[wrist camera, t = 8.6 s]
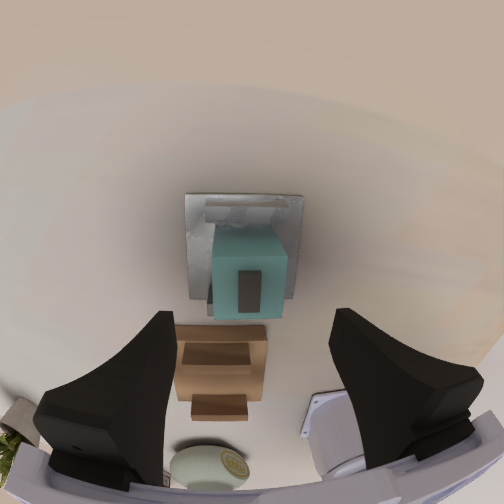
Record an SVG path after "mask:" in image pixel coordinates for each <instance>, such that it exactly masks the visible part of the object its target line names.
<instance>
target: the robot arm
mask: <svg viewBox="0 0 504 504" xmlns="http://www.w3.org/2000/svg"><path fill="white" fill-rule="evenodd" d="M328 344H329V348H330V351H331V355H332V358H333V361H334V364H335V366H336V368H337V371H338V373H339V375H340V377H341V380H342V382H343V384H344V386H345V389H346V390H344V391H337V392H331V393H323V394H316V395H314V396H313V397H312V399H311V403H310V406H309V409H308V412H307V415H306V418H305V421H304V424H303V427H302V430H301V433H300V437H301V438H306V437H308V440H309V444H310V448H311V452H312V456H313V459H314V463H315V467H316V470H317V473H318V474H319V475H320V476H321V477H322V481H320V482H314V483H309V484H302V485H295V486H288V487H279V488H269V489H256V490H231V491H214V490H190V489H177V488H167V487H163V446H164V429H165V416H166V410H167V404H168V400H169V395H170V390H171V386H172V382H173V377H174V373H175V368H176V360H177V350H178V345H177V339H176V331H175V324H174V316H173V311H158V312H157V313H156V315H155V316H154V317H153V318H152V319H151V320H150V321H149V322H148V324H147V325H146V326H145V327H144V328H143V329H142V330H141V331H140V332H139V333H138V334H137V335H136V336H135V337H134V338H133V339H132V340H131V341H130V342H129V343H128V344H127V345H126V346H125V347H124V348H123V349H122V350H121V351H120V352H118V353H117V354H116V355H115V356H113V357H112V358H111V359H109V360H108V361H107V362H105V363H104V364H102V365H101V366H99V367H98V368H96V369H94V370H93V371H91V372H90V373H88V374H86V375H84V376H82V377H80V378H78V379H76V380H74V381H72V382H70V383H68V384H65V385H63V386H60V387H57V388H55V389H52V390H49V391H46V392H45V393H44V395H43V397H42V399H41V401H40V403H39V405H38V407H37V409H36V411H35V413H34V416H33V419H32V420H33V423H34V426H35V427H36V429H37V430H38V432H39V433H40V434H41V435H42V437H43V438H44V439H45V440H46V441H47V442H48V444H49V445H50V446H51V447H52V448H53V451H52V454H51V455H50V454H48V453H47V452H45V451H43V450H41V449H38V448H36V447H33V446H31V445H29V444H26V443H24V442H21V444H20V447H19V449H18V452H17V454H16V457H15V459H14V462H13V465H12V467H11V470H10V473H9V476H8V479H7V482H6V485H5V488H4V490H5V491H6V492H7V493H8V494H10V495H11V496H12V497H14V498H15V499H17V500H18V501H20V502H21V503H23V504H436V503H438V502H440V501H441V500H443V499H445V498H446V497H448V496H450V495H451V494H453V493H455V492H456V491H458V490H459V489H461V488H463V487H464V486H466V485H467V484H469V483H470V482H472V481H473V480H475V479H476V478H478V477H479V476H480V475H482V474H483V473H484V472H485V471H487V470H488V469H489V468H490V467H491V466H493V465H494V464H495V463H496V462H497V461H498V460H499V459H500V458H502V457H503V455H504V428H503V427H502V425H501V424H500V422H499V421H498V419H497V418H496V417H495V415H494V414H493V412H492V411H491V410H489V411H487V412H486V413H484V414H483V415H481V416H479V417H477V418H476V419H474V420H473V421H472V422H470V420H469V419H468V418H469V417H470V416H471V413H470V411H469V410H468V408H469V407H470V405H471V404H472V403H473V401H474V400H475V399H476V397H477V396H478V394H479V393H480V391H481V389H482V387H483V384H484V379H483V378H482V376H481V375H480V374H479V373H478V371H477V370H476V369H475V368H474V367H469V366H464V365H458V364H454V363H450V362H446V361H443V360H440V359H437V358H434V357H431V356H429V355H426V354H424V353H421V352H419V351H417V350H415V349H413V348H411V347H409V346H407V345H405V344H403V343H401V342H399V341H398V340H396V339H394V338H393V337H391V336H389V335H388V334H386V333H385V332H383V331H382V330H380V329H379V328H377V327H376V326H375V325H373V324H372V323H370V322H369V321H367V320H366V319H365V318H363V317H362V316H360V315H359V314H358V313H356V312H355V311H353V310H351V309H350V308H339V309H336V314H335V318H334V322H333V327H332V331H331V335H330V339H329V343H328Z"/></svg>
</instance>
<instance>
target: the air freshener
mask: <svg viewBox="0 0 504 504" xmlns="http://www.w3.org/2000/svg"><path fill="white" fill-rule="evenodd" d="M170 471H171V474H172V475H173V477H174V478H175V479H176V480H177V481H178V482H179V483H180V484H182V485H183V486H185V487H187V488H188V489H190V490H214V491H231V490H234V489H236V488H238V487H240V486H241V485H242V484H244V483H245V482H246V481H247V479H248V478H249V475H250V471H249V467H248V465H247V463H246V462H245V460H244V459H243V458H242V457H241V456H240V455H239V454H238V453H236V452H235V451H233V450H231V449H228V448H225V447H221V446H214V445H200V446H193V447H189V448H186V449H184V450H182V451H180V452H178V453H177V454H176V455H175V456H174V457H173V458H172V460H171V462H170Z"/></svg>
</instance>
